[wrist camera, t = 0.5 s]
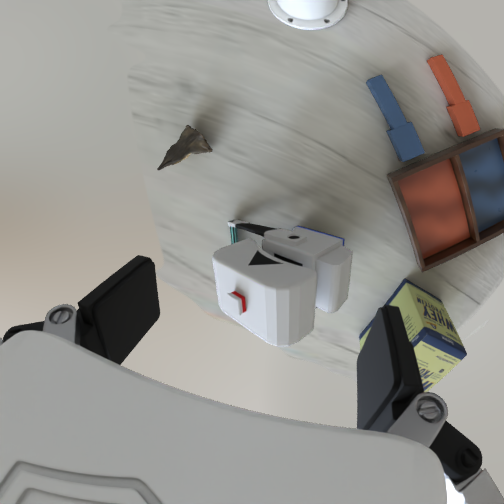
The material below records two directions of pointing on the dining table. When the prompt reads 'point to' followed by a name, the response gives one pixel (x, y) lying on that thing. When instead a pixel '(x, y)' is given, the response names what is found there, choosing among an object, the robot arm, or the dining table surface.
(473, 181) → the cutlery tray
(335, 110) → the dining table surface
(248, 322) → the robotic device
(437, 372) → the protein box
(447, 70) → the orange stepped bar
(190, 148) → the shark head
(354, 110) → the dining table surface
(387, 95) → the blue tall stepped post
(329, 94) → the dining table surface
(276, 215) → the dining table surface
